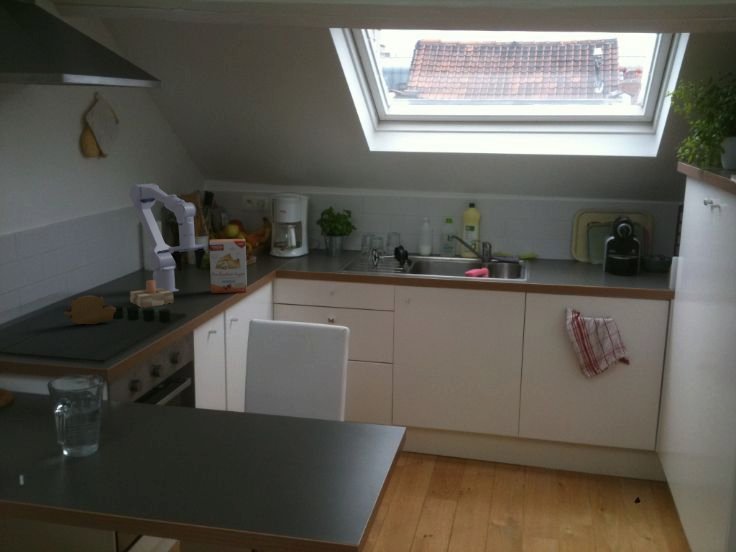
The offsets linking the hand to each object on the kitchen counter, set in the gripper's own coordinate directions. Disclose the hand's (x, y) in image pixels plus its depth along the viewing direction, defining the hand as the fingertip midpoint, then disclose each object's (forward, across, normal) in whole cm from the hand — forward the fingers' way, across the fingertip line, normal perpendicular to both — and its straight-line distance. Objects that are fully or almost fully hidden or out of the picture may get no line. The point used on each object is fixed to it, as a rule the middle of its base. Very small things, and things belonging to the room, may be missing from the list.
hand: (189, 269), depth 287 cm
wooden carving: (+11, -44, -20) cm, 49 cm away
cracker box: (+11, +15, -2) cm, 19 cm away
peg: (+10, -16, -2) cm, 19 cm away
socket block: (+10, -16, -2) cm, 19 cm away
